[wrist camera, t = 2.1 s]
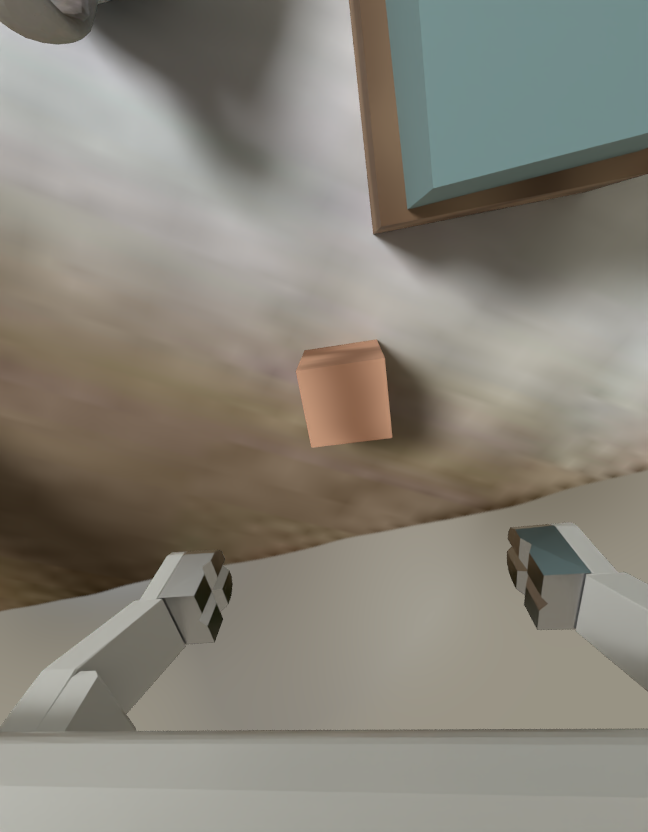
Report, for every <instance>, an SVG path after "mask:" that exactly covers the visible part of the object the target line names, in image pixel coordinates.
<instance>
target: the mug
mask: <svg viewBox="0 0 648 832" xmlns="http://www.w3.org/2000/svg"><path fill="white" fill-rule="evenodd" d="M108 1H111V0H0V21H1V22H2V23H3V24H4V25H6V26H7V27H8V28H10V29H11V30H13V31H15V32H16V33H18V34H20V35H22V36H24V37H25V38H28V39H32V40H35V41H39V42H42V43H50V44H67V43H73V42H76V41H79V40H81V39H83V38H84V37H85V36H86V35H87V34H88V33H89V32H90V31H91V28H92V24H93V21H94V18H95V14H96V10H97V4H101V3H105V2H108Z"/></svg>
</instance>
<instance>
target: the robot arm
mask: <svg viewBox="0 0 648 832" xmlns="http://www.w3.org/2000/svg"><path fill="white" fill-rule="evenodd" d="M508 540H509V542H510V544H511V545H512V547H511V548H510V549H509V550H508V551H507V565H508V570H509V574H510V576H511V579H512V581H513V583H514V586H515V587H516V589H517V590H519V591H520V592H521V593H523V594H524V595H525V602H524V605H525V607H526V609H527V611H528V613H529V615H530V617H531V619H532V620H533V622H534V624H535V626H536V628H537V630H552V629H553V630H557V629H576V632H577V633H578V634H580V635H581V636H582V637H583V638H584V639H585V640H587V641H588V642H589V643H590V644H592V645H593V646H594V647H595V648H596V649H597V650H599V651H600V652H601V653H602V654H604V655H605V656H606V657H607V658H608V659H609V660H611V661H612V662H613V663H614V664H615V665H617V666H618V667H619V668H621V669H622V670H623V671H624V672H625V673H626V674H628V675H629V676H630V677H631V678H632V679H633V680H635V681H636V682H637V683H638V684H639V685H641V686H642V687H643V688H644V689H645V690H647V691H648V584H647V583H645V582H643V581H641V580H640V579H638V578H636V577H634V576H632V575H630V574H628V573H626V572H618V571H617V570H616V569H615V568H614V567H613V566H612V565H611V564H610V562H609V561H608V560H607V559H606V558H605V557H604V556H603V554H601V552H600V551H599V550H598V549H597V548H596V547H595V545H594V544H593V543H592V542H591V541H590V540H589V539H588V537H587V536H586V535H585V534H584V533H583V532H582V531H581V529H580V528H579V527H578V526H577V525H576V524H574V523H572V522H567V523H555V524H550V525H549V524H545V525H534V526H523V527H511V528H510V529H509V532H508ZM224 561H225V558H224V555H223V553H222V551H220V550H204V551H187V552H172V553H171V554H169V555H168V556H167V557H166V558H165V560H164V562H163V563H162V565H161V566H160V568H159V570H158V571H157V573H156V574H155V576H154V577H153V579H152V581H151V582H150V584H149V586H148V587H147V589H146V590H145V592H144V593H143V595H142V597H141V598H140V600H135V601H133V602H132V603H130V604H129V605H128V606H126V607H125V608H124V609H122V610H121V611H120V612H118V613H117V614H116V615H115V616H113V617H112V618H111V619H109V620H108V621H107V622H105V623H104V624H103V625H102V626H100V627H99V628H98V629H96V630H95V631H94V632H92V633H91V634H90V635H88V636H87V637H86V638H84V639H83V640H82V641H80V642H79V643H78V644H77V645H75V646H74V647H73V648H71V649H70V650H69V651H67V652H66V653H65V654H64V655H62V656H61V657H59V658H58V659H57V660H56V661H54V662H53V663H52V664H50V665H49V666H48V667H46V668H45V669H44V670H43V671H42V672H41V673H40V674H39V676H38V677H37V679H36V680H35V681H34V682H33V684H32V685H31V686H30V688H29V689H28V690H27V692H26V693H25V694H24V696H23V697H22V698H21V700H20V701H19V702H18V703H17V705H16V706H15V707H14V709H13V710H12V711H11V713H10V714H9V715H8V717H7V718H6V719H5V721H4V722H3V723H2V725H1V726H0V832H648V729H485V730H484V729H479V730H478V729H472V730H470V729H469V730H467V729H465V730H464V729H462V730H268V731H267V730H266V731H265V730H261V731H258V730H255V731H254V730H252V731H250V730H249V731H136V728H135V726H134V725H133V723H132V722H131V721H130V719H129V718H128V716H127V715H126V714H127V713H128V712H129V711H130V710H131V708H132V707H133V706H134V705H135V704H136V703H137V702H138V700H139V699H140V698H141V697H142V696H143V695H144V694H145V692H146V691H147V690H148V689H149V688H150V686H152V684H153V683H154V682H155V681H156V680H157V679H158V677H159V676H160V675H161V674H162V673H163V672H164V670H165V669H166V668H167V667H168V666H169V665H170V664H171V662H172V661H173V660H174V659H175V658H176V657H177V656H178V655H179V653H180V652H181V651H182V650H183V649H184V648H185V644H198V643H213V642H215V640H216V637H217V634H218V632H219V629H220V626H221V623H222V620H223V618H222V615H221V611H222V610H223V609H224V608H225V607H226V606H227V605H228V604H229V600H230V598H231V594H232V576H231V574H230V571H229V570H228V569H227V568H226V567H224V566H223V563H224Z"/></svg>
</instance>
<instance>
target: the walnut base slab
mask: <svg viewBox="0 0 648 832" xmlns="http://www.w3.org/2000/svg"><path fill="white" fill-rule="evenodd" d="M349 6H350V16H351V25H352V35H353V44H354V54H355V64H356V73H357V83H358V92H359V102H360V111H361V121H362V131H363V140H364V150H365V159H366V169H367V178H368V188H369V198H370V207H371V217H372V226H373V234H377V233H382V232H387V231H392V230H397V229H402V228H407V227H412V226H417V225H422V224H427V223H432V222H437V221H442V220H447V219H452V218H457V217H462V216H467V215H472V214H477V213H482V212H488V211H493V210H498V209H503V208H508V207H513V206H518V205H523V204H528V203H533V202H538V201H543V200H548V199H553V198H558V197H563V196H568V195H573V194H578V193H583V192H587V191H591V190H594V189H597V188H601V187H604V186H608V185H611V184H614V183H618V182H621V181H625V180H628V179H631V178H635V177H638V176H642V175H645V174H648V148H646V149H643V150H640V151H637V152H633V153H629V154H625V155H621V156H617V157H613V158H609V159H605V160H601V161H597V162H593V163H589V164H586V165H582V166H578V167H574V168H570V169H566V170H562V171H558V172H554V173H550V174H546V175H542V176H538V177H534V178H530V179H526V180H522V181H518V182H514V183H510V184H507V185H503V186H499V187H495V188H491V189H487V190H483V191H479V192H475V193H471V194H467V195H463V196H459V197H455V198H451V199H447V200H443V201H439V202H435V203H431V204H428V205H424V206H420V207H416V208H412V209H408V210H407V201H406V191H405V182H404V172H403V163H402V153H401V144H400V134H399V125H398V115H397V106H396V96H395V87H394V77H393V68H392V58H391V49H390V39H389V30H388V20H387V11H386V2H385V0H349Z"/></svg>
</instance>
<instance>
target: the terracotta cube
mask: <svg viewBox="0 0 648 832" xmlns="http://www.w3.org/2000/svg"><path fill="white" fill-rule="evenodd" d="M296 374H297V379H298V384H299V389H300V393H301V398H302V403H303V408H304V413H305V418H306V423H307V428H308V433H309V437H310V442H311V447H312V448H313V447H321V446H329V445H337V444H346V443H354V442H362V441H371V440H379V439H387V438H392V429H391V418H390V408H389V397H388V387H387V376H386V366H385V357H384V355H383V353H382V351H381V348H380V346H379V344H378V341H377V340H370V341H364V342H357V343H351V344H344V345H338V346H331V347H324V348H318V349H311V350H305V351H304V353H303V356H302V358H301V360H300V363H299V365H298V367H297V370H296Z"/></svg>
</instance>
